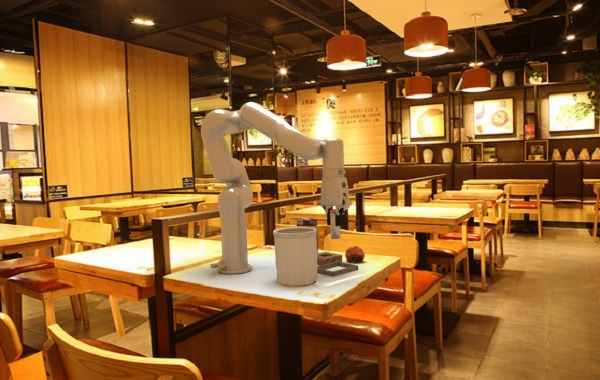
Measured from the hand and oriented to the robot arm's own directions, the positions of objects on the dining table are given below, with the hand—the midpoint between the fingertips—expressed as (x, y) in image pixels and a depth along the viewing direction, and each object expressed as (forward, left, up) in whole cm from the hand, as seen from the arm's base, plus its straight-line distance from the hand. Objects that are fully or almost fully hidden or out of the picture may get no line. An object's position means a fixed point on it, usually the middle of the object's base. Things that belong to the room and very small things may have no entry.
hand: (334, 224), depth 158 cm
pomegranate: (+15, +4, -18) cm, 23 cm away
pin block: (+6, +11, -17) cm, 22 cm away
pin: (0, 0, -5) cm, 5 cm away
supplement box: (+13, +29, -18) cm, 36 cm away
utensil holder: (-16, +3, -18) cm, 24 cm away
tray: (0, 0, -17) cm, 17 cm away
